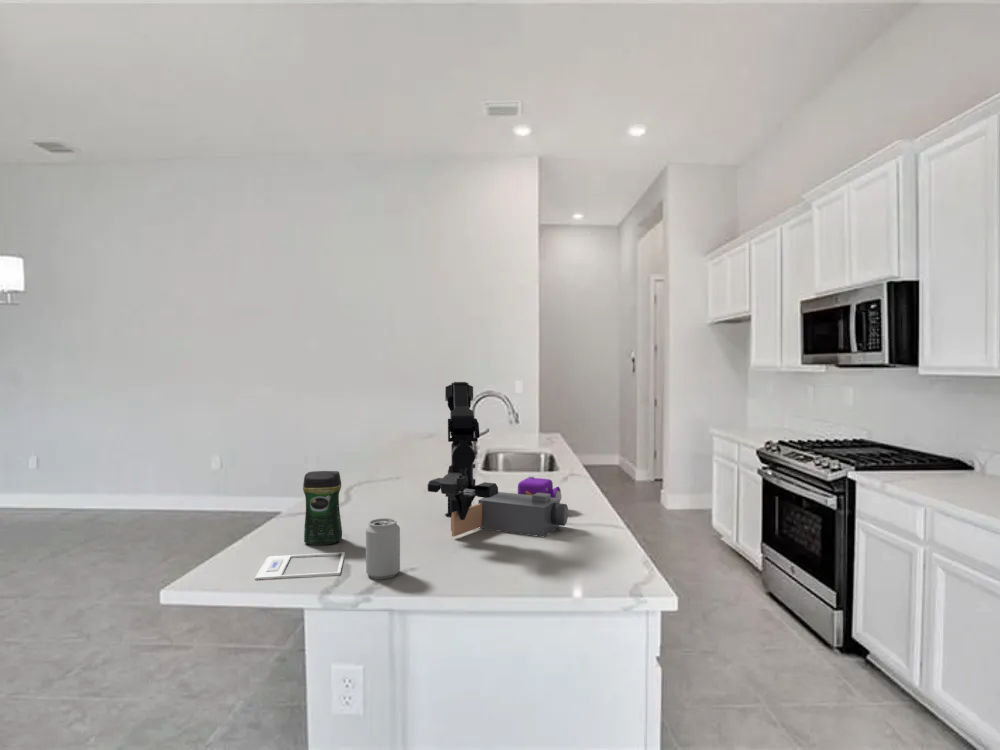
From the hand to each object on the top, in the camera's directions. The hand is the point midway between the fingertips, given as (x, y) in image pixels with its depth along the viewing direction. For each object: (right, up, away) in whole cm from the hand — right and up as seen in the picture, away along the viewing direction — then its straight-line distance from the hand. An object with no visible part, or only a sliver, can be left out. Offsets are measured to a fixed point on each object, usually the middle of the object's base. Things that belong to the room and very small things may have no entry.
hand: (462, 519), depth 163 cm
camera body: (+17, -5, +11) cm, 21 cm away
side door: (+1, -4, +5) cm, 7 cm away
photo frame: (-36, -7, -21) cm, 42 cm away
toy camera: (+23, -5, +32) cm, 39 cm away
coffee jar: (-37, -6, -2) cm, 37 cm away
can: (-16, -6, -26) cm, 31 cm away
